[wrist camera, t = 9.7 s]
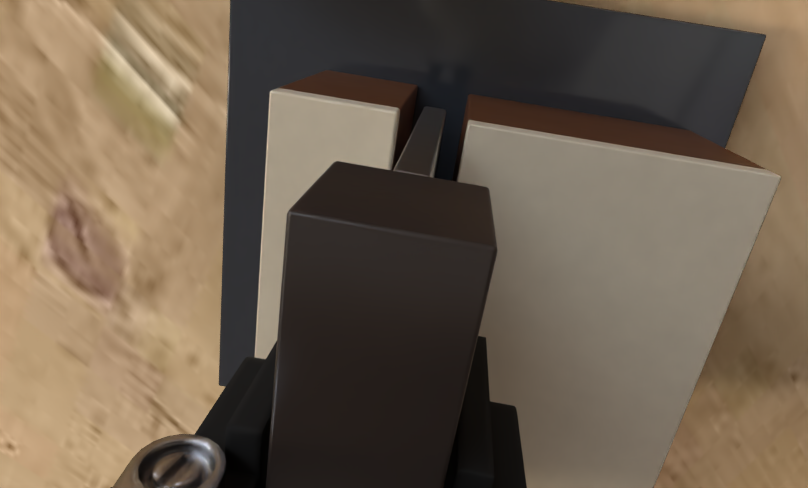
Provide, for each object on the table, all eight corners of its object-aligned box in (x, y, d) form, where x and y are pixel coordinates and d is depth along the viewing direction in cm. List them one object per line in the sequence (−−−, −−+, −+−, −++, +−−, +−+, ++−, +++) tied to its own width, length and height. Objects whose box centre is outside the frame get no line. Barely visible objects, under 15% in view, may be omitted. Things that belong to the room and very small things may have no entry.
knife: (390, 99, 15) (286, 209, 6) (480, 114, 15) (498, 247, 6) (348, 405, 19) (244, 741, 10) (419, 419, 19) (378, 769, 10)
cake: (468, 93, 18) (468, 123, 13) (691, 130, 18) (783, 176, 13) (418, 359, 22) (403, 465, 17) (602, 393, 22) (644, 512, 16)
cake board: (243, -47, 18) (231, -51, 17) (752, 33, 17) (767, 34, 17) (227, 371, 24) (218, 385, 23) (605, 443, 24) (611, 460, 23)
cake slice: (325, 69, 18) (268, 90, 13) (418, 84, 18) (398, 111, 13) (300, 337, 22) (249, 435, 17) (377, 351, 22) (349, 454, 17)
